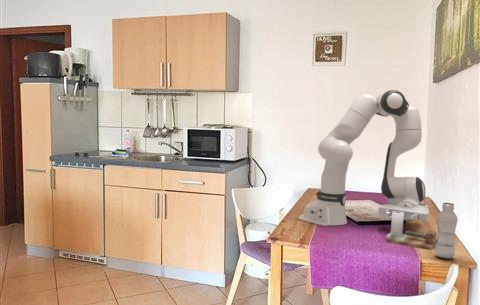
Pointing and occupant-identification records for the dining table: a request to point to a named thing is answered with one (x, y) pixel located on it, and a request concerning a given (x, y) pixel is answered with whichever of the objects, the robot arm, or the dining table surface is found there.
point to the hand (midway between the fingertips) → (399, 216)
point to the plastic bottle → (446, 232)
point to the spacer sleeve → (397, 224)
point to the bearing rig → (415, 239)
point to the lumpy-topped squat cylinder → (395, 201)
